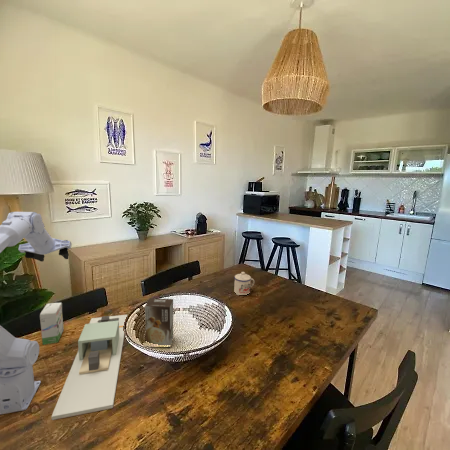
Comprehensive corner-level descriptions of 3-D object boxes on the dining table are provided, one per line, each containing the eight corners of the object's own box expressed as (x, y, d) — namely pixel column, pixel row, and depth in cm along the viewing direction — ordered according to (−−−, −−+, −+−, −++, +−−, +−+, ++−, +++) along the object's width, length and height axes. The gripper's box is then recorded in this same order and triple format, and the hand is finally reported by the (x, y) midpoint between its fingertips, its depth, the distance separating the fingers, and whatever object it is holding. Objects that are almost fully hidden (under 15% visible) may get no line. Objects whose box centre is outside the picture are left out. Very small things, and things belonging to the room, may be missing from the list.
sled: (108, 369, 78) (107, 354, 78) (78, 374, 76) (77, 359, 75) (117, 326, 101) (116, 315, 100) (94, 329, 98) (94, 317, 97)
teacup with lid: (238, 297, 133) (240, 276, 131) (230, 290, 141) (231, 270, 139) (258, 293, 138) (259, 273, 136) (249, 287, 146) (250, 267, 144)
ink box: (58, 342, 92) (55, 312, 90) (41, 345, 90) (39, 314, 88) (64, 329, 100) (62, 301, 98) (49, 331, 98) (46, 303, 96)
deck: (112, 407, 67) (112, 404, 67) (51, 420, 63) (51, 416, 63) (127, 316, 110) (127, 314, 110) (91, 320, 106) (91, 318, 106)
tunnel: (116, 357, 85) (115, 336, 84) (79, 363, 82) (77, 341, 81) (119, 339, 95) (118, 320, 93) (86, 343, 92) (85, 324, 90)
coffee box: (174, 337, 97) (174, 298, 95) (170, 348, 91) (170, 307, 88) (150, 336, 97) (149, 297, 95) (144, 347, 91) (144, 306, 88)
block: (107, 349, 87) (106, 338, 86) (91, 351, 85) (90, 340, 84) (109, 340, 91) (109, 330, 91) (94, 342, 90) (93, 331, 89)
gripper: (66, 225, 83) (79, 246, 95) (14, 229, 80) (33, 249, 91) (63, 244, 80) (76, 263, 91) (9, 249, 76) (29, 268, 87)
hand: (55, 257), depth 91 cm, fingers open, 7 cm apart
